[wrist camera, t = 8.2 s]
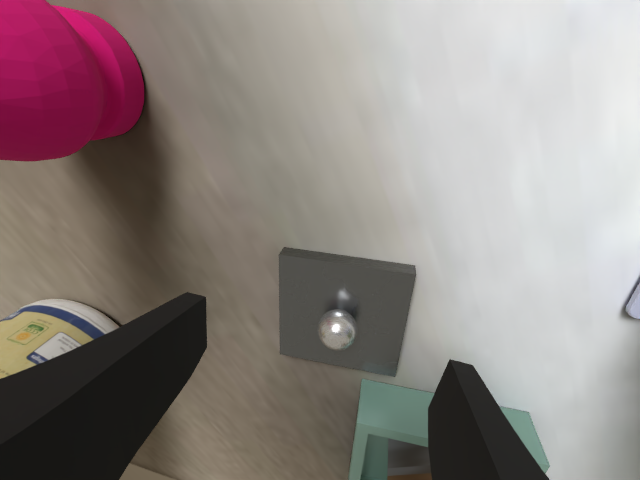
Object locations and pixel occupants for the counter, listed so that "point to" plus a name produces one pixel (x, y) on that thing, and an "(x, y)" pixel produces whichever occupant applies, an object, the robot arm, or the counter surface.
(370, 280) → the base
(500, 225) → the counter surface
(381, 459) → the bin
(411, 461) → the strut
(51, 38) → the pepper mill
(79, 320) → the supplement tub
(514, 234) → the counter surface
